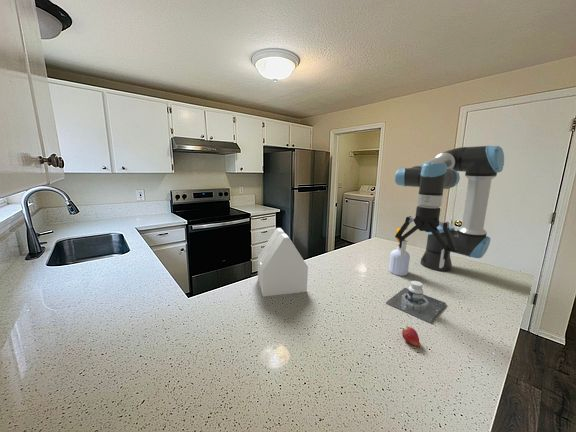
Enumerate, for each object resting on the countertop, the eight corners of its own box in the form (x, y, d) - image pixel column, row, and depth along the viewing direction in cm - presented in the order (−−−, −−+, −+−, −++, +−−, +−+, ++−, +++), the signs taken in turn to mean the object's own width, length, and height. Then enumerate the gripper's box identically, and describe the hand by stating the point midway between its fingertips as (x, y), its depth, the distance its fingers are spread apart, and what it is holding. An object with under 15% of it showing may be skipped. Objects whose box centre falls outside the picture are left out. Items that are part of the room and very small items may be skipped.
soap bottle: (409, 276, 119) (416, 229, 114) (390, 274, 120) (396, 228, 116) (404, 269, 127) (410, 225, 122) (387, 267, 129) (392, 224, 124)
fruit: (414, 350, 70) (416, 336, 69) (397, 337, 75) (399, 323, 74) (423, 346, 71) (426, 332, 70) (406, 334, 77) (408, 320, 76)
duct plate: (404, 289, 106) (405, 283, 105) (445, 304, 94) (446, 297, 94) (386, 303, 94) (387, 296, 94) (430, 323, 83) (431, 315, 82)
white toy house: (262, 296, 97) (263, 238, 92) (257, 279, 111) (257, 228, 107) (306, 291, 102) (309, 236, 97) (296, 276, 116) (298, 227, 111)
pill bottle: (405, 298, 96) (408, 278, 94) (419, 301, 95) (422, 281, 93) (407, 306, 91) (410, 285, 89) (422, 308, 90) (426, 287, 88)
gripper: (390, 203, 92) (384, 254, 96) (468, 212, 74) (457, 275, 78) (398, 201, 97) (392, 250, 101) (473, 210, 79) (462, 269, 83)
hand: (420, 261), depth 89 cm, fingers open, 13 cm apart
